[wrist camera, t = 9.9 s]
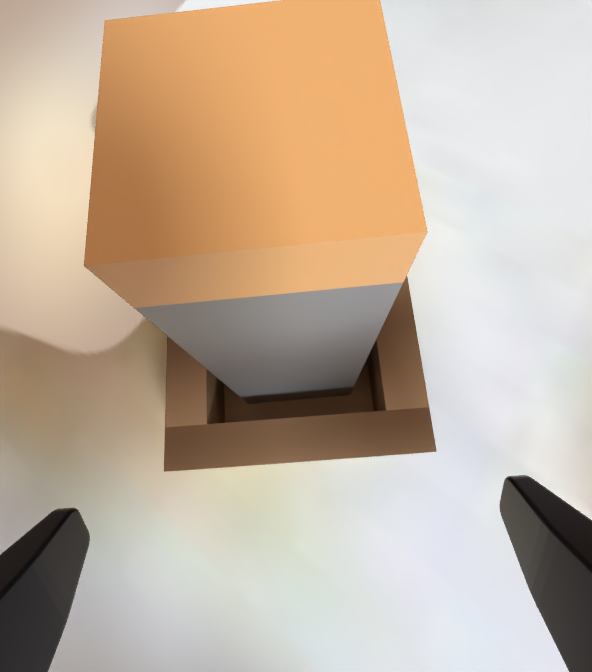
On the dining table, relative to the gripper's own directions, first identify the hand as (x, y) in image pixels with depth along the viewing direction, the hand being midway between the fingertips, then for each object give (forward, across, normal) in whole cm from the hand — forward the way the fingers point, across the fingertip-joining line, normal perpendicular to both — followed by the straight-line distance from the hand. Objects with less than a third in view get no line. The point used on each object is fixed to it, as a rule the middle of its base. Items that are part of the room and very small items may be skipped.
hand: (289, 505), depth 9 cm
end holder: (+11, 0, +3) cm, 11 cm away
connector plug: (+10, 0, +2) cm, 10 cm away
